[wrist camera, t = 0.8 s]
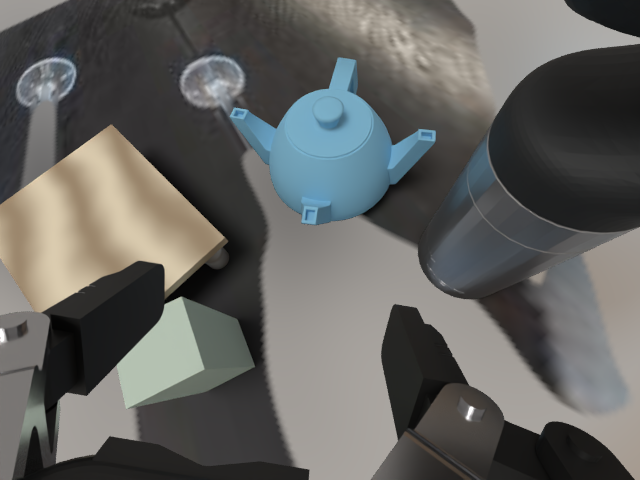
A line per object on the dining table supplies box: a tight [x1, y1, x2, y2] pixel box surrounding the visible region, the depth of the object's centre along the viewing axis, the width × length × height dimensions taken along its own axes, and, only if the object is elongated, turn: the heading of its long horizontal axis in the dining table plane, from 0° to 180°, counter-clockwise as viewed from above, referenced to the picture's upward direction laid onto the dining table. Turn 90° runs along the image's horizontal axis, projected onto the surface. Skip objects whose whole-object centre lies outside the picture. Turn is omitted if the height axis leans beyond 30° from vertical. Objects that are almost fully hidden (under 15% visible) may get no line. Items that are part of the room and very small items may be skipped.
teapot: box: [230, 57, 436, 225], centre depth 33 cm, size 15×15×11 cm
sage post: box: [117, 297, 255, 409], centre depth 25 cm, size 5×5×12 cm
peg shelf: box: [0, 125, 229, 313], centre depth 33 cm, size 16×20×6 cm
